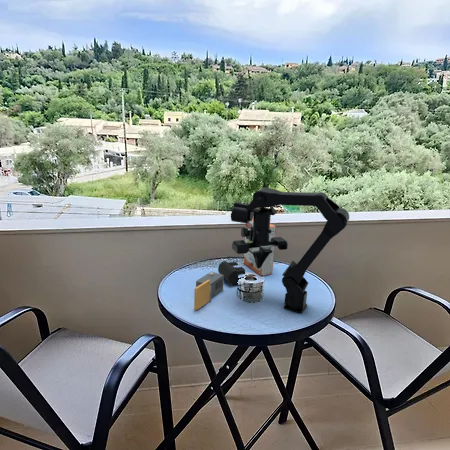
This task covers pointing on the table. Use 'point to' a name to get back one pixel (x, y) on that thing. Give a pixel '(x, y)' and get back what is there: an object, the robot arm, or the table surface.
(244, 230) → the robot arm
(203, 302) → the door
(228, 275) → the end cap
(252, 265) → the cracker box
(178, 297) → the table surface
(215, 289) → the block
